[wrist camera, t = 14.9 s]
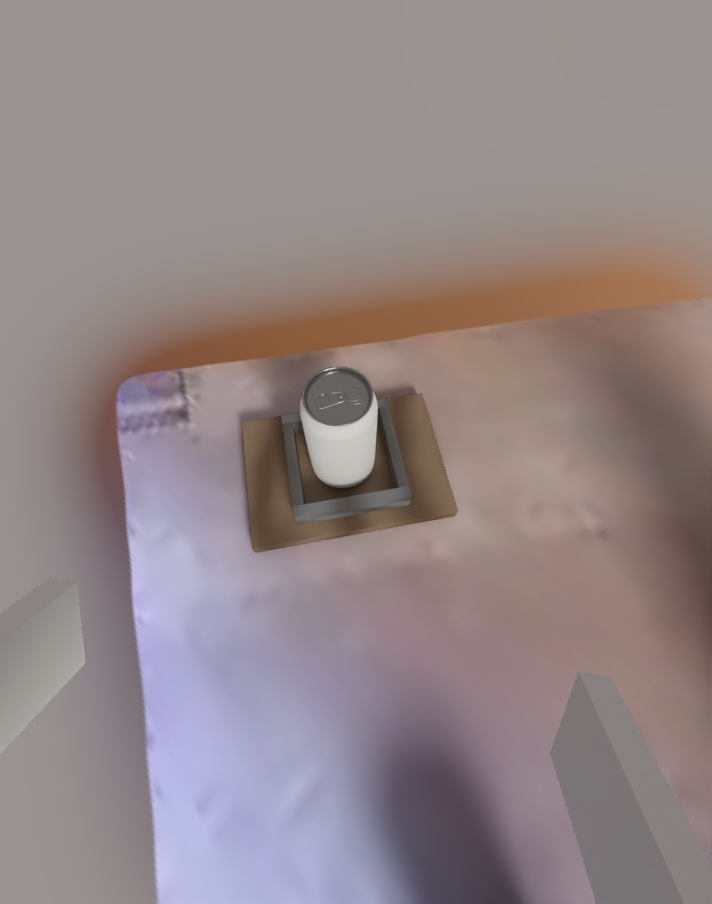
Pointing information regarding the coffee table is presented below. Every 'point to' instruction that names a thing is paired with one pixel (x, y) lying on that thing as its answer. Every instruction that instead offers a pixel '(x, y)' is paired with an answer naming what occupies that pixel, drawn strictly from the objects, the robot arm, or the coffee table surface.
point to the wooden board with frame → (344, 509)
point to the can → (340, 425)
